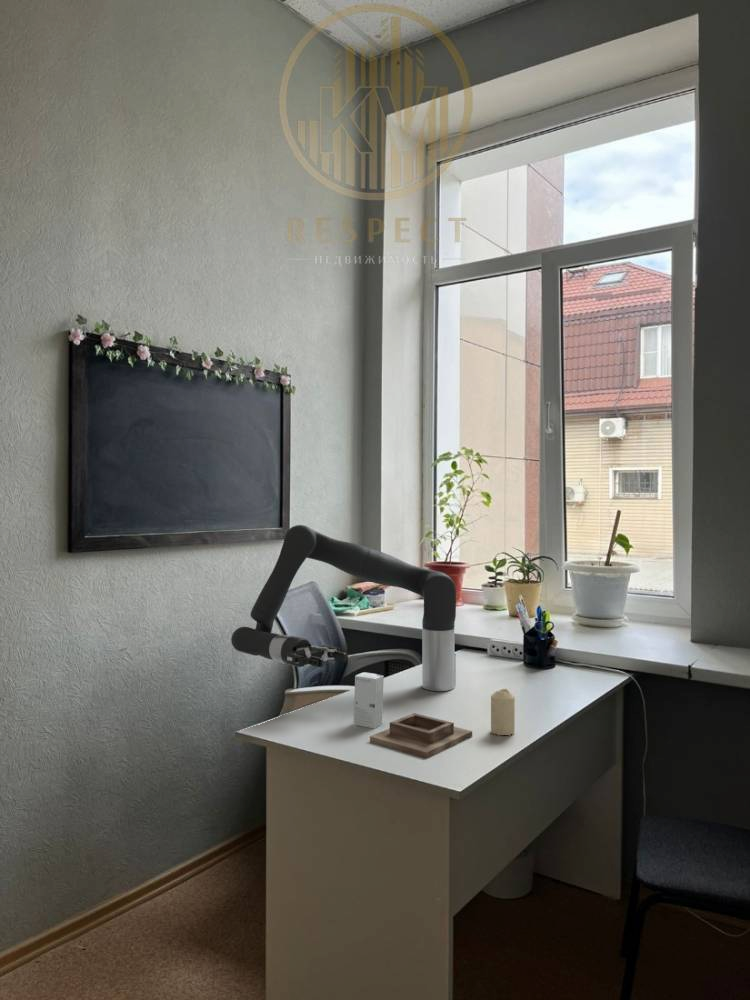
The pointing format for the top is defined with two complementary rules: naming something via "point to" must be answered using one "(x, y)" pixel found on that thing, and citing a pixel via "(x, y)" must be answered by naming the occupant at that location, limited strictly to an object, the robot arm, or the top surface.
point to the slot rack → (421, 735)
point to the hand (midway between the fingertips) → (334, 660)
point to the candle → (502, 712)
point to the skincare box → (368, 700)
